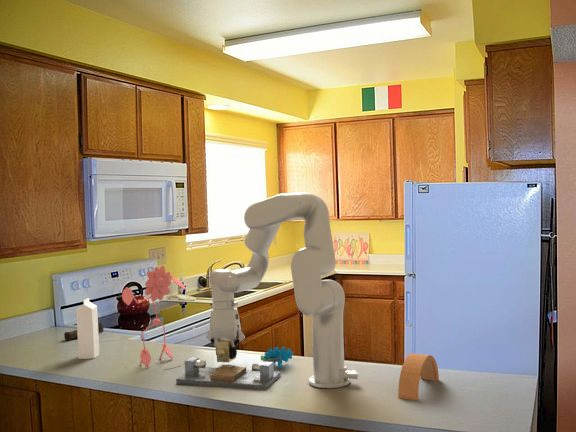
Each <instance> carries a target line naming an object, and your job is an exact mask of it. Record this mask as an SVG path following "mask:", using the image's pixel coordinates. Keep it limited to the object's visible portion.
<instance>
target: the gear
mask: <svg viewBox="0 0 576 432" xmlns="http://www.w3.org/2000/svg"><path fill="white" fill-rule="evenodd" d="M293 355H294V352H293V351H291V348H289V347H288V348H286V347H285V346H281V347H280V349H279V347H278V346H275V347H274V348H273V349H272V348H269V349H268V350H267V351H265V352H264V355H261V356H260V361H262V363H263V362H273V365H275V364H276V363H277V369H278V370H281V369H282V364H283V362H285V363H287V362H289V359H290V360H291V359H292V358H293Z"/></svg>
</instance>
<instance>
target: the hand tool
mask: <svg viewBox="0 0 576 432" xmlns="http://www.w3.org/2000/svg"><path fill="white" fill-rule="evenodd" d="M103 332H104V325H103V323H102V322H98V334H100V333H103ZM63 335H64V340H65V341H67V342H69V341H73V340H75V339H78V335H77V329H75V330H72V331H71V330H70V331H65V332H64V334H63Z"/></svg>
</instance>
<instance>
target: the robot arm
mask: <svg viewBox="0 0 576 432" xmlns="http://www.w3.org/2000/svg"><path fill="white" fill-rule="evenodd" d="M243 220H244V223H245V225H246V227H247V228H249V231H248V232H247V234H246V236H245V238H244V242H243V243H244V244H245V246H246V248H247V249H248V250H250V251H251V252H252V253H251V254H252V255H251V258H250V260H249V263H248V264H247V266H246V267H244V268H238V269H234V270H232V269H229V268H222V269H220V268H219V269H214V270H212V271H211V273H210V283H211V284H210V285H211V286H210V287H211V299H212V309H211V310H210V316H209V331H208V332H207V333H206V335H205V337H206V340H208V341H210V342H211V344H213V346H214V347H215V348H216V341H218V340H220V339H230V343H231V348H230V354H231V359H234V358H235V357H236V358H237V355H238V352H237V350H238V349H237V346H238V345H239V344H240V343H241V342H242V341H243V340H244V339H245V337H246V335H245V334H244V332H243V331H242V327H241V322H240V320H241V319H240V315H239V311H238V308H237V307H238V306H239V302H238V301H236V300H235V293H236V294H237V293H241V292H244V291H248V290H252V289H255V288H256V287H258V286H259V285H260V283H261V282H262V280H263V279H264V276H265V274H266V272H267V270H268V268H269V262H270V261H269V260H270V259H269V258H270V257H269V249H270V247H271V246H272V244H273V241H274V239H275V237H276V235H277V233H278V232H279V229H280V227H281V225H282V224H283V223H285V222H291V221H299V220H303V221H304V222H305V223H304V226H303V240H304V247H302V248H300V249H298V250H297V251H296V252H295V253H294V254H293V256H292V259H291V263H290V271H291V278H292V285H293V286H292V287H293V291H294V297H295V299H294V300H295V303H296V306H297V309H298V311H300V312H301V314H303V315H304V316H306V317H312V321H311V331H312V332H311V333H312V334H311V335H312V338H311V339H312V357H313V358H312V359H313V361H312V362H313V363H312V364H313V375H312V376H310V377H309V378H308V383H309V385H311V387H315V388H319V389H337V388H343V387H345V386H347V385H349V384H350V382H351V380H359V372H357V371H356V370H349V369H348V366H347V365H345V346H344V309H345V302H346V301H345V300H346V294H345V291H344V288H343V287H342V284H340V283H339V282H338V281H336V280H333V279H322V277H325V276H327V275H329V274H331V273H333V272H334V270H335V268H336V256H335V249H334V242H333V241H334V240H333V235H332V230H331V229H332V228H331V222H330V212H329V209H328V205H327V204H326V202H325V201H324V199H322V198H321V197H320V196H319V195H316V194H313V193H309V192H290V193H289V192H286V193H278V194H276V195H274V196H271V197H268V198H265V199H263V200H259V201H257V202H254V203H252V204H251V205H249V206H248V207H247V209H246V210H245V212H244V216H243ZM237 337H238V338H237ZM215 356H217V353H216V352H215ZM236 358H235V359H236ZM235 359H234V360H235Z"/></svg>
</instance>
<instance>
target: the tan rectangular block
mask: <svg viewBox="0 0 576 432" xmlns="http://www.w3.org/2000/svg"><path fill="white" fill-rule="evenodd" d="M230 348H231V343H230V339H220V340H218V341H216V347H215V354H216V353H217V355H216V363H230V362H232V361H234V360H235V359H237V356H236V357H235V358H234V359H231V354H230Z"/></svg>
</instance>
